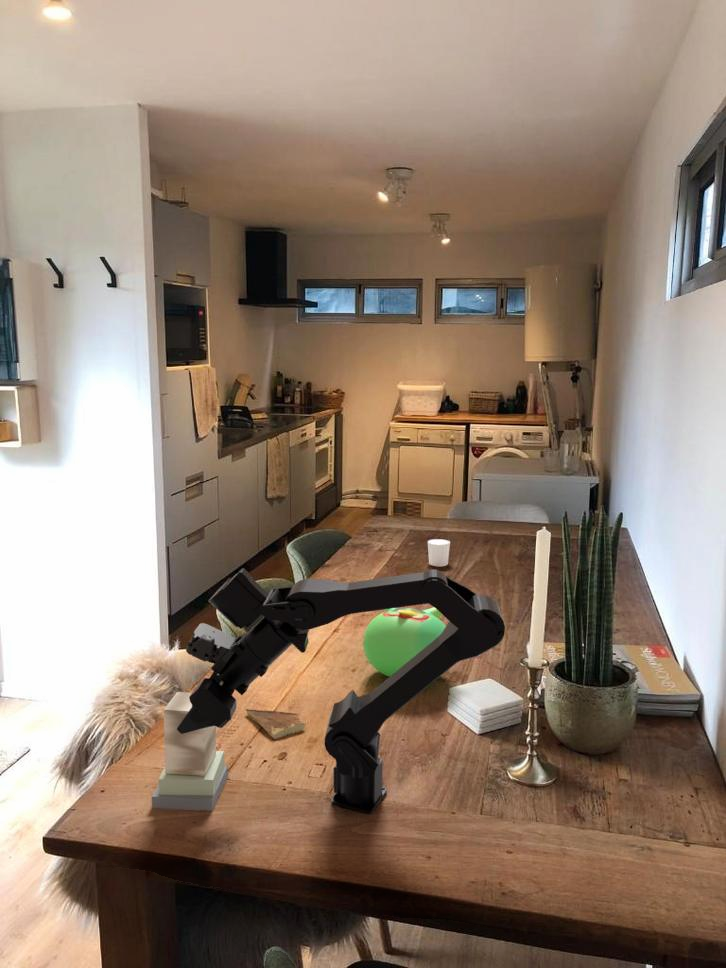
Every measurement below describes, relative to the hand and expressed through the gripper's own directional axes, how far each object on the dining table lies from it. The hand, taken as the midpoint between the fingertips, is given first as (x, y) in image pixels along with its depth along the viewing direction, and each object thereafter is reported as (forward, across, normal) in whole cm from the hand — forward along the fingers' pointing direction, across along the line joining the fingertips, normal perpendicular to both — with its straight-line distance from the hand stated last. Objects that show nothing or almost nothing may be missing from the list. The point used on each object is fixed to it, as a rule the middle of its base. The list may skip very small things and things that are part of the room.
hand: (188, 715), depth 114 cm
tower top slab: (+7, 0, +8) cm, 11 cm away
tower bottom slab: (+9, 0, +9) cm, 13 cm away
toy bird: (-14, -43, +32) cm, 55 cm away
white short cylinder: (-20, -122, +38) cm, 130 cm away
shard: (+3, -20, +15) cm, 25 cm away
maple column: (+6, 0, +6) cm, 8 cm away
